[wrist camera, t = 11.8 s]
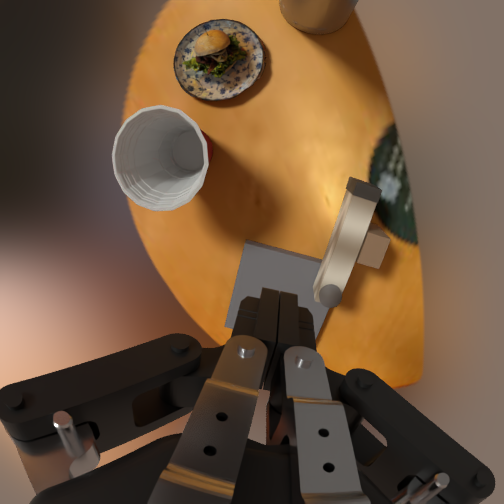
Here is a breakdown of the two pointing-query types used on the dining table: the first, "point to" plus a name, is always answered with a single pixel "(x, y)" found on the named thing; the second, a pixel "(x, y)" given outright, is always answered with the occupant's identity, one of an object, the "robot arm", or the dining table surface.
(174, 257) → the dining table surface
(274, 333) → the robot arm
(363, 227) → the folding leg
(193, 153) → the plastic cup
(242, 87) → the burger
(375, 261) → the grey slab beige block
